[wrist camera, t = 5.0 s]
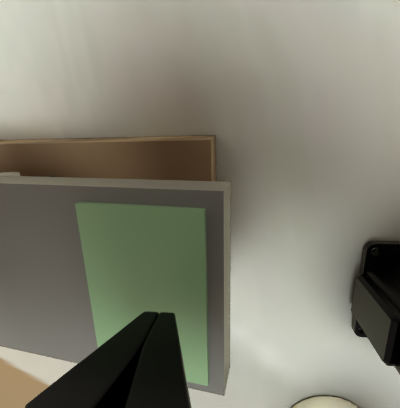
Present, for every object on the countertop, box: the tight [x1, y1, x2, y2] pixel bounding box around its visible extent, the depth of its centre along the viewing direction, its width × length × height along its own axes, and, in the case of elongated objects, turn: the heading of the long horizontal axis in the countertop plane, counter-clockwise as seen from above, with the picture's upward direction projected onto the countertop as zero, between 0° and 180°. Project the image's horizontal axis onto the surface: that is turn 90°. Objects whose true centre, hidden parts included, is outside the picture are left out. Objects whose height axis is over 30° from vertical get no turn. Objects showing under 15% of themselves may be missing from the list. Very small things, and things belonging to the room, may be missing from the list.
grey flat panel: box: [0, 172, 231, 396], centre depth 11 cm, size 18×7×2 cm, turn 93°
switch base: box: [0, 135, 216, 181], centre depth 15 cm, size 16×9×6 cm, turn 92°
